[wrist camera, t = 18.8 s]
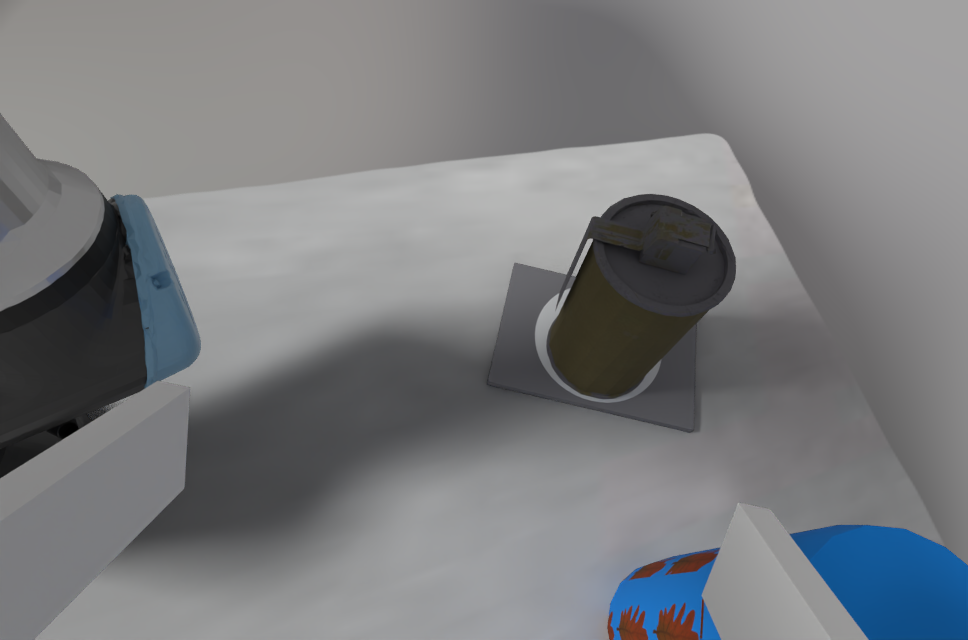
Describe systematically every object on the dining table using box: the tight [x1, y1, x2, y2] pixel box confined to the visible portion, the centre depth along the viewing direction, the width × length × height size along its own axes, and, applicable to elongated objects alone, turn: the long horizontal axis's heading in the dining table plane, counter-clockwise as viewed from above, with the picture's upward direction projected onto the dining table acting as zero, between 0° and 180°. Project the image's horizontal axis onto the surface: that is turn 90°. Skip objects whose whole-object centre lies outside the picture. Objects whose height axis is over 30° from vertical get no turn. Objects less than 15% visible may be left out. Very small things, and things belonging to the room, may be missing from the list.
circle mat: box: [487, 263, 696, 432], centre depth 55 cm, size 20×14×1 cm
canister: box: [546, 194, 736, 399], centre depth 45 cm, size 11×10×20 cm
